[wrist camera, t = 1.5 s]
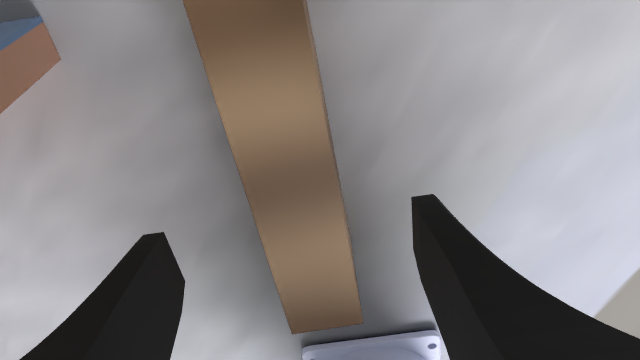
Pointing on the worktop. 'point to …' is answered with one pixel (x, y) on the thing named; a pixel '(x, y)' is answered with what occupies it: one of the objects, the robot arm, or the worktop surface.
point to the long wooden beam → (282, 151)
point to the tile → (23, 57)
